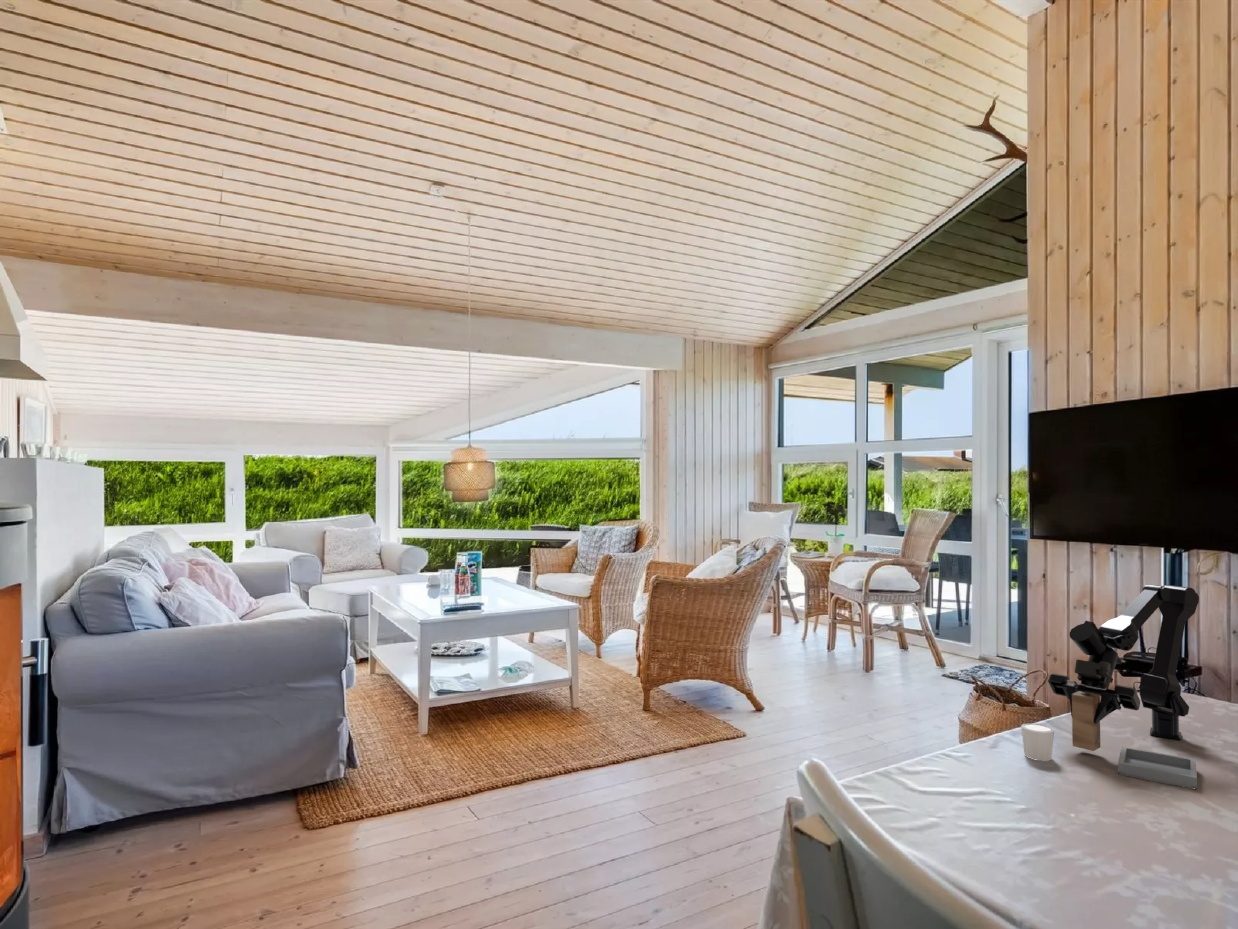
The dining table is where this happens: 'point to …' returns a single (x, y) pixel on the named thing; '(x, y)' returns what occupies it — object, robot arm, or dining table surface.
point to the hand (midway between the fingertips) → (1083, 720)
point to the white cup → (1037, 741)
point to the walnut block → (1085, 721)
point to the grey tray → (1158, 767)
